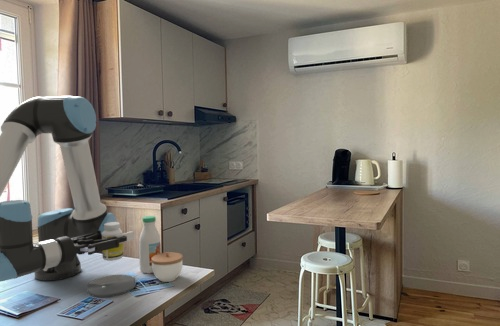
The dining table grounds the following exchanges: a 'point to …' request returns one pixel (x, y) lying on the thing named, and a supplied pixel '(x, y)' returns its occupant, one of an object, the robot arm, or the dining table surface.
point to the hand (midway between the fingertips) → (126, 233)
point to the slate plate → (111, 285)
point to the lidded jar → (167, 266)
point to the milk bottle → (148, 244)
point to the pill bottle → (109, 232)
